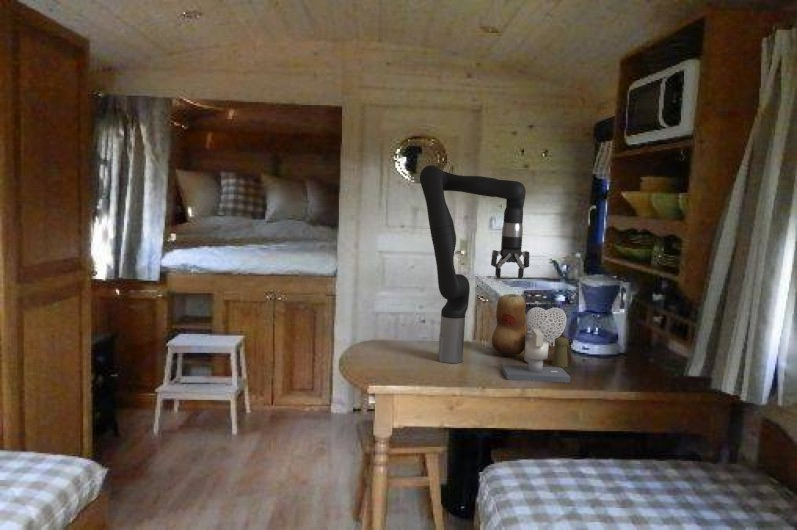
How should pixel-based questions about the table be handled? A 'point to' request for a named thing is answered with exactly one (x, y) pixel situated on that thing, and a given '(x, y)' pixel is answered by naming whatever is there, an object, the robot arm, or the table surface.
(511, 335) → the butternut squash
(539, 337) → the coupling
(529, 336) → the beverage can
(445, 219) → the robot arm
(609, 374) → the table surface
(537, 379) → the baseplate
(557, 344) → the cork
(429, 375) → the table surface
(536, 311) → the decorative heart
